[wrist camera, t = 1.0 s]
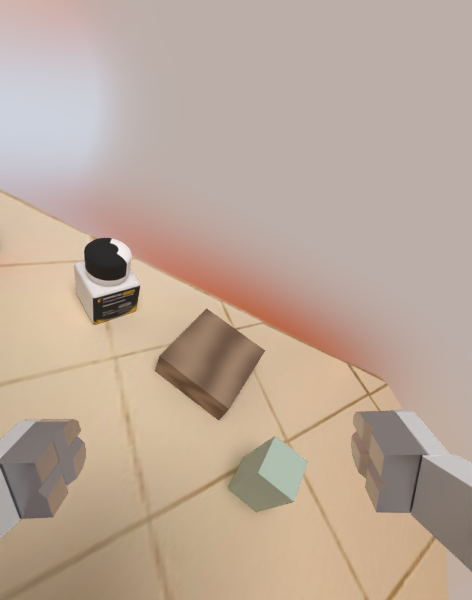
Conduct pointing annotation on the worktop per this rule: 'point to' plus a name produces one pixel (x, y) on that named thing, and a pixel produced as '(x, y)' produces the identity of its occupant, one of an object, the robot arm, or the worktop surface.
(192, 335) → the walnut block
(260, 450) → the sage block
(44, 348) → the worktop surface
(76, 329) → the worktop surface
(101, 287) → the medicine bottle
